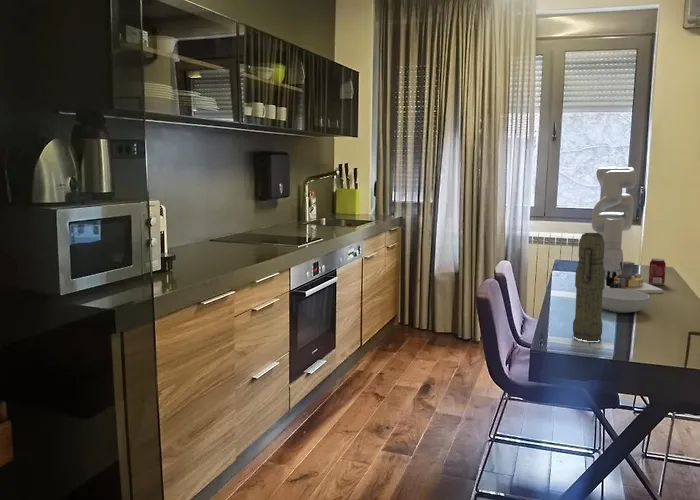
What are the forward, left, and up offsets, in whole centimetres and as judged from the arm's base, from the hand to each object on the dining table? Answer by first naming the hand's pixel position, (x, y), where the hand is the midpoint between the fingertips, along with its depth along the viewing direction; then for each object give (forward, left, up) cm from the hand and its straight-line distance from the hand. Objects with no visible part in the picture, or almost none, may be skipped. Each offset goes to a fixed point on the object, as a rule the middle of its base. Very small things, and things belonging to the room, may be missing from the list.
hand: (609, 285), depth 266 cm
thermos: (+73, -40, -3) cm, 83 cm away
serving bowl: (+35, -12, -3) cm, 37 cm away
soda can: (-14, +28, -3) cm, 32 cm away
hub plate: (-7, +10, -2) cm, 13 cm away
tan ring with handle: (-3, +7, -1) cm, 7 cm away
